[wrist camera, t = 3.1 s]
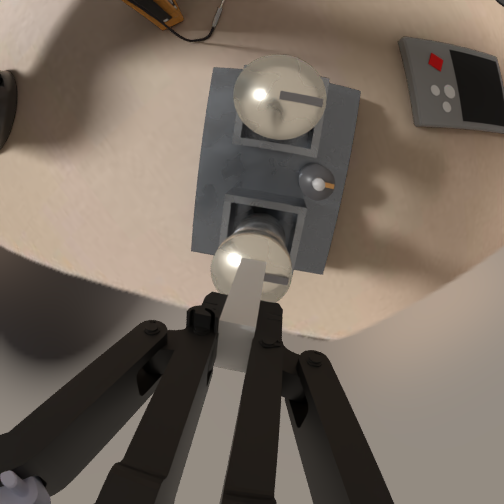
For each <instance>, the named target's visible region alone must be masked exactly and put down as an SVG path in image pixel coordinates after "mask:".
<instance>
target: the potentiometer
mask: <svg viewBox="0 0 504 504" xmlns="http://www.w3.org/2000/svg"><path fill="white" fill-rule="evenodd" d="M298 182H299V185H300V187H301V190H302V192H303V193H304V195H305V196H307V197H308V198H310V199H312V200H316V201H319V200H324V199H326V198H328V197H329V196H330V195H331V194H332V193H333V191H334V188H335V178H334V176H333V174H332V172H331V171H330V170H329V169H327V168H326V167H324V166H322V165H320V164H317V163H310V164H307V165H305V166H304V167H303V168H302V169H301V170H300V172H299V175H298Z"/></svg>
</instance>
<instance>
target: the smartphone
mask: <svg viewBox="0 0 504 504" xmlns="http://www.w3.org/2000/svg"><path fill="white" fill-rule="evenodd" d="M496 1H497V2H498V3H499V4H501V5H502V6H503V7H504V0H496Z"/></svg>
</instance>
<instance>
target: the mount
mask: <svg viewBox="0 0 504 504" xmlns="http://www.w3.org/2000/svg"><path fill="white" fill-rule="evenodd" d="M246 66H248V65H244V68H245V67H246ZM242 71H243V69H233V68H218V67H214V68H213V73H212V79H211V85H210V91H209V97H208V104H207V110H206V117H205V124H204V131H203V138H202V146H201V154H200V162H199V171H198V180H197V189H196V199H195V209H194V221H193V233H192V246H191V251H193V252H199V253H204V254H210V255H215V253H216V251H217V250H218V248H219V246H220V245H221V243H222V242H223V241H224V240H225V239H226V238H227V237H229V236H230V235H232V234H233V233H234V231H235V229H236V227H237V226H238V224H239V223H240V221H241V220H242V219H243V218H245V217H246V216H248V215H250V214H254V213H265V214H268V215H271V216H273V217H274V218H276V219H277V220H278V221H279V222H280V223H281V225H282V226H283V228H284V231H285V245H286V248H287V250H288V252H289V254H290V258H291V263H292V275H293V270H299V271H304V272H310V273H316V274H322V275H323V271H324V268H325V264H326V260H327V257H328V253H329V249H330V245H331V241H332V237H333V233H334V229H335V225H336V221H337V216H338V212H339V208H340V203H341V199H342V194H343V189H344V185H345V180H346V175H347V170H348V165H349V160H350V155H351V149H352V144H353V138H354V132H355V126H356V120H357V114H358V107H359V101H360V94H361V91H359V90H355V89H351V88H347V87H344V86H340V85H335V84H331V83H329V78H325V77H321V79H322V81H323V83H324V86H325V89H326V98H327V99H326V107H325V110H324V113H323V115H322V117H321V119H320V120H319V122H318V123H317V124H316V125H315V126H314V127H313V128H312V129H311V130H310V131H308V132H307V133H305V134H303V135H301V136H299V137H296V138H292V139H287V140H276V139H270V138H267V137H264V136H261V135H259V134H257V133H255V132H254V131H252V130H251V129H250V128H248V127H247V126H246V125H245V124H244V123H243V122H242V120H241V119H240V117H239V115H238V113H237V111H236V109H235V105H234V99H233V93H234V87H235V83H236V81H237V78H238V77H239V75H240V73H241V72H242ZM310 163H317V164H320V165H322V166H324V167H326V168H327V169H329V170H330V171H331V172H332V174H333V176H334V178H335V188H334V191H333V193H332V194H331V195H330V196H329V197H328V198H326V199H324V200H319V201H316V200H312V199H310V198H308V197H307V196H305V195H304V193H303V192H302V190H301V187H300V185H299V182H298V175H299V172H300V170H301V169H302V168H303V167H304V166H305V165H307V164H310Z"/></svg>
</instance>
